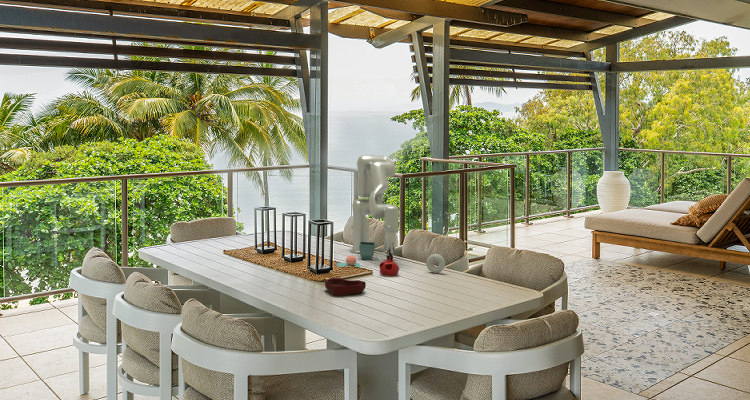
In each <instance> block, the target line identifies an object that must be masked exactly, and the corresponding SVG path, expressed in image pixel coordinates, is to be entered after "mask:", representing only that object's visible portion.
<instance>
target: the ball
mask: <svg viewBox="0 0 750 400" xmlns="http://www.w3.org/2000/svg"><path fill="white" fill-rule="evenodd" d="M345 263H347V264H348V265H350V266H353V265H355V263H357V258H356V256H354V255H348V256H347V257H346V259H345Z"/></svg>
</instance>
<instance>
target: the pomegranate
mask: <svg viewBox="0 0 750 400" xmlns="http://www.w3.org/2000/svg"><path fill="white" fill-rule="evenodd" d="M397 260H398V259H397ZM397 260H396V259H393V260H392V261H391V257H389V261H388V260H387V258H385V259H382V261H381V263H380V264H378V265H379V273H380V274H381V275H382V276H386V277H395V276H398V274H399V272H400V267H399V265H398V264H397V263H396V262H395V261H397Z"/></svg>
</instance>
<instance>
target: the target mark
mask: <svg viewBox="0 0 750 400" xmlns="http://www.w3.org/2000/svg"><path fill="white" fill-rule="evenodd" d="M336 265H337V268H338V267H342V266H343V267H344V266H350V265H348V264H347V263H346V262H336ZM353 266H355V267H359V268H360V269H362V266H361V265H360V262H356V263H355V265H353ZM359 268H358V269H359Z"/></svg>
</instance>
